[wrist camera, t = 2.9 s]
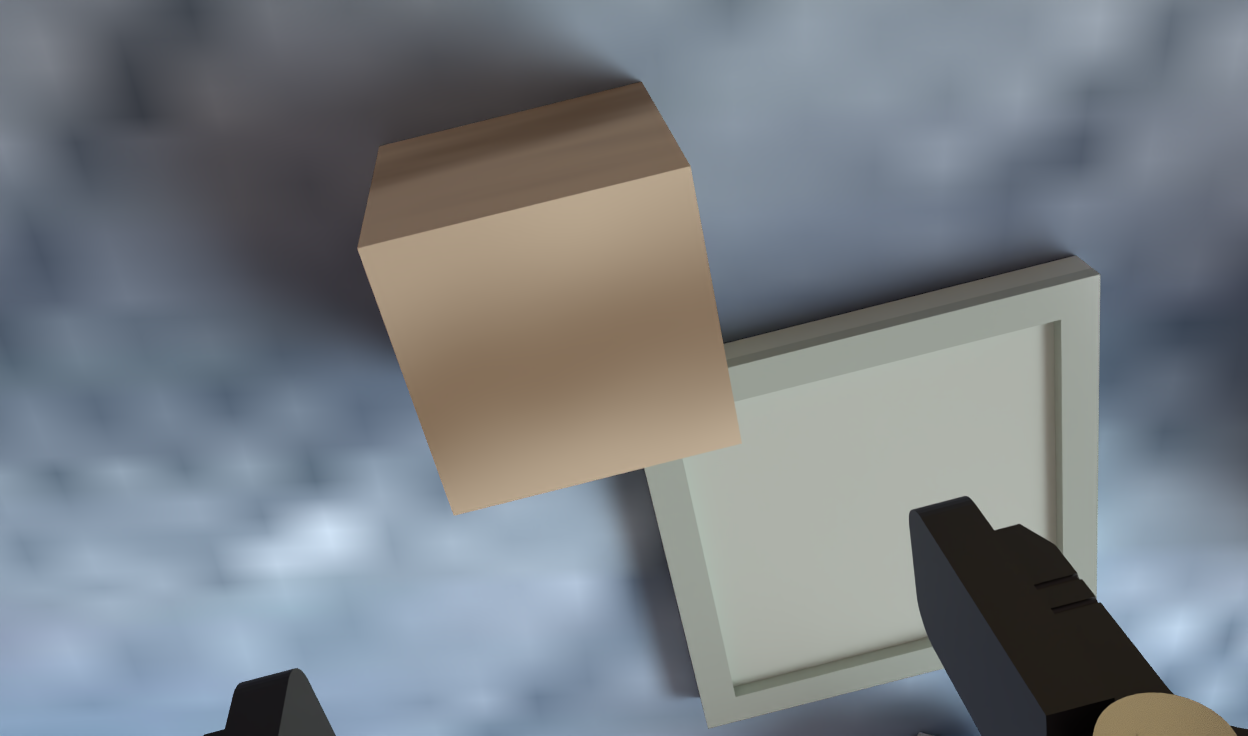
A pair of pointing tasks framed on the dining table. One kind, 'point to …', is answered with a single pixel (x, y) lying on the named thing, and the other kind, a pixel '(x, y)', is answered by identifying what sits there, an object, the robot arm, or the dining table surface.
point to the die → (923, 734)
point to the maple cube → (549, 297)
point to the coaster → (877, 479)
